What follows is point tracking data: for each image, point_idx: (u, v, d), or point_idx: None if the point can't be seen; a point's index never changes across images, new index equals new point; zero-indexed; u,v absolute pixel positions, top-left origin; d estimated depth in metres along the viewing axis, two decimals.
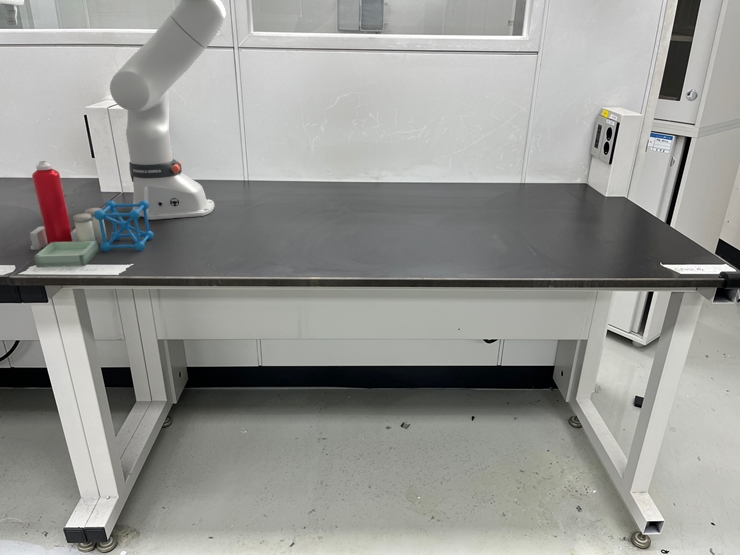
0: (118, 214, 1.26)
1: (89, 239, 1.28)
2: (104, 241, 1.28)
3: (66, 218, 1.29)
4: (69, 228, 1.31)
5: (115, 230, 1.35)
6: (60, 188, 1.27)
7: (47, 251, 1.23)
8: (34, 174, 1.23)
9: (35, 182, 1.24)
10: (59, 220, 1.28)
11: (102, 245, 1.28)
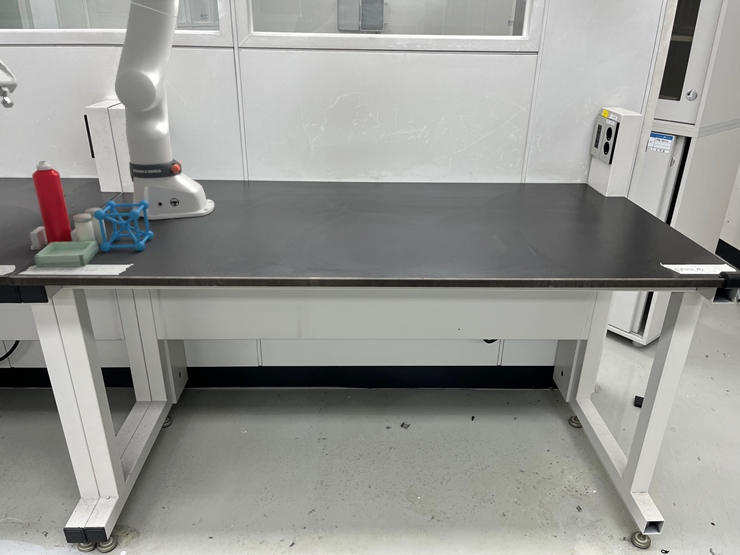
0: (118, 214, 1.26)
1: (89, 239, 1.28)
2: (104, 241, 1.28)
3: (66, 218, 1.29)
4: (69, 228, 1.31)
5: (115, 230, 1.35)
6: (60, 188, 1.27)
7: (47, 251, 1.23)
8: (34, 174, 1.23)
9: (35, 182, 1.24)
10: (59, 220, 1.28)
11: (102, 245, 1.28)
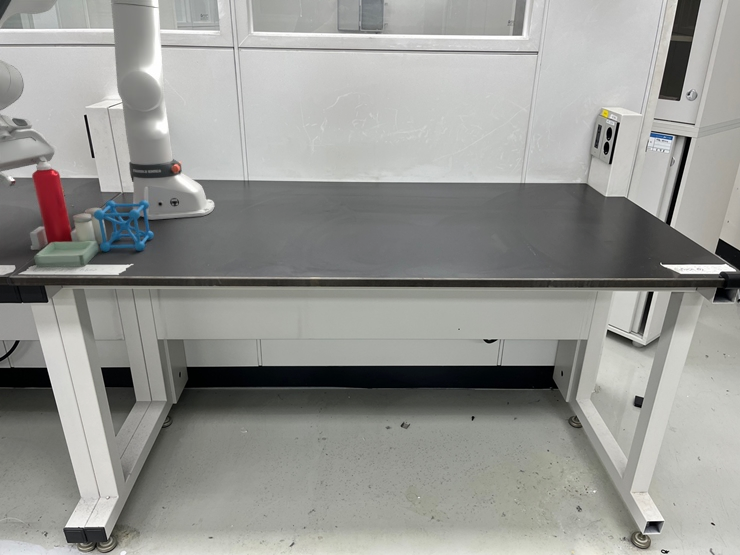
0: (118, 214, 1.26)
1: (89, 239, 1.28)
2: (104, 241, 1.28)
3: (66, 218, 1.29)
4: (69, 228, 1.31)
5: (115, 230, 1.35)
6: (60, 188, 1.27)
7: (47, 251, 1.23)
8: (34, 174, 1.23)
9: (35, 182, 1.24)
10: (59, 220, 1.28)
11: (102, 245, 1.28)
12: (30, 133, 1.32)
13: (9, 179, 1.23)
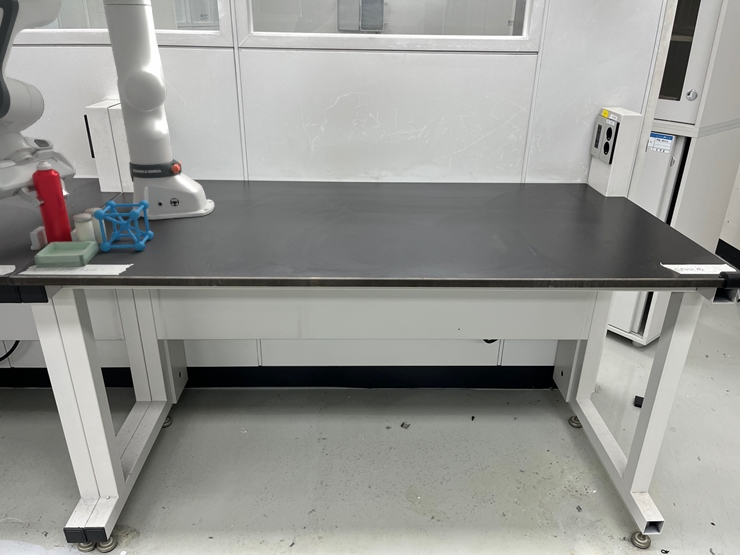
0: (118, 214, 1.26)
1: (89, 239, 1.28)
2: (104, 241, 1.28)
3: (66, 218, 1.29)
4: (69, 228, 1.31)
5: (115, 230, 1.35)
6: (60, 188, 1.27)
7: (47, 251, 1.23)
8: (34, 174, 1.23)
9: (35, 182, 1.24)
10: (59, 220, 1.28)
11: (102, 245, 1.28)
12: (51, 154, 1.32)
13: (38, 200, 1.24)
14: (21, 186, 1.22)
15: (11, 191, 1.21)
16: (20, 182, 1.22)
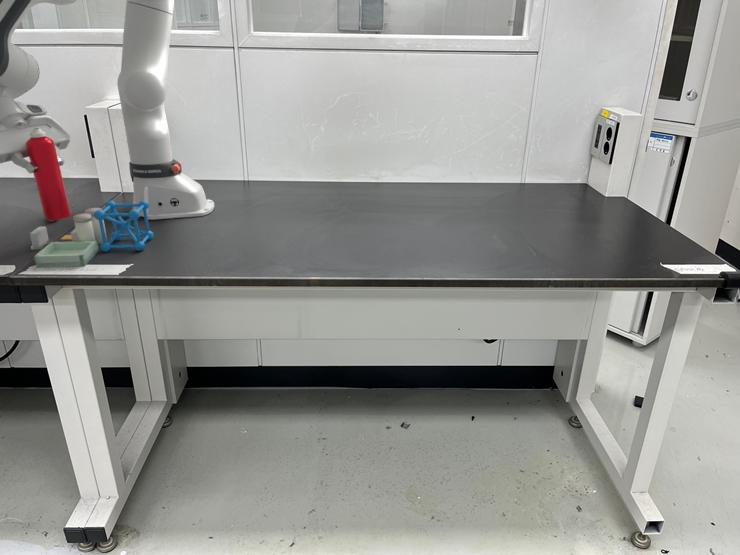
0: (118, 214, 1.26)
1: (89, 239, 1.28)
2: (104, 241, 1.28)
3: (62, 187, 1.26)
4: (65, 198, 1.28)
5: (115, 230, 1.35)
6: (55, 156, 1.24)
7: (47, 251, 1.23)
8: (28, 141, 1.21)
9: (29, 150, 1.21)
10: (54, 189, 1.25)
11: (102, 245, 1.28)
12: (45, 120, 1.29)
13: (32, 165, 1.21)
14: (14, 151, 1.19)
15: (4, 156, 1.18)
16: (12, 147, 1.19)
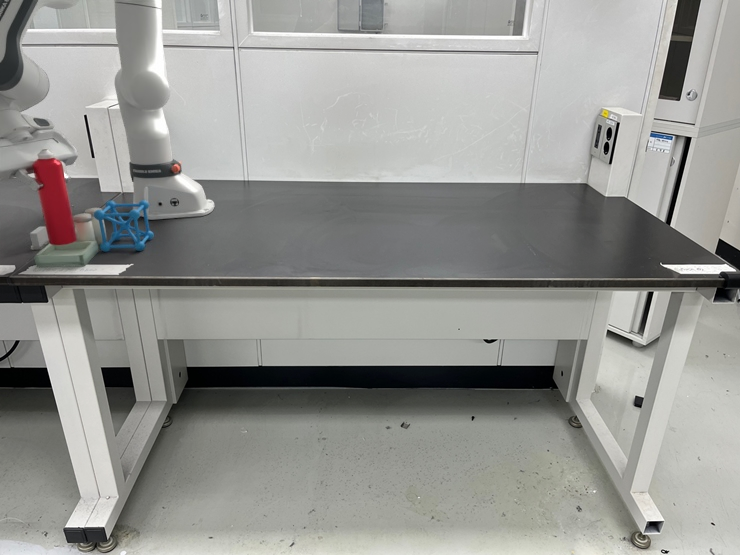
0: (118, 214, 1.26)
1: (89, 239, 1.28)
2: (104, 241, 1.28)
3: (68, 211, 1.20)
4: (71, 222, 1.21)
5: (115, 230, 1.35)
6: (62, 179, 1.17)
7: (47, 251, 1.23)
8: (35, 163, 1.14)
9: (35, 172, 1.14)
10: (61, 213, 1.18)
11: (102, 245, 1.28)
12: (52, 135, 1.22)
13: (37, 183, 1.14)
14: (19, 167, 1.12)
15: (8, 172, 1.11)
16: (17, 163, 1.12)
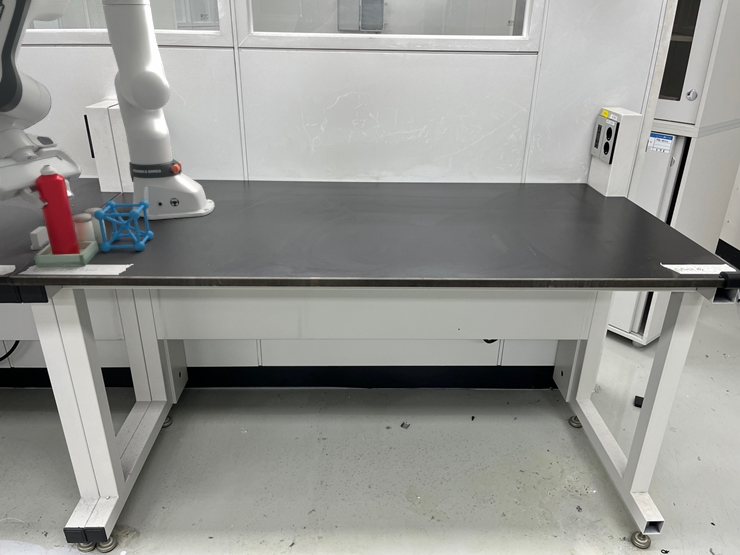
0: (118, 214, 1.26)
1: (89, 239, 1.28)
2: (104, 241, 1.28)
3: (71, 226, 1.21)
4: (74, 236, 1.22)
5: (115, 230, 1.35)
6: (65, 194, 1.18)
7: (47, 251, 1.23)
8: (37, 179, 1.15)
9: (38, 188, 1.16)
10: (64, 228, 1.19)
11: (102, 245, 1.28)
12: (56, 152, 1.23)
13: (41, 201, 1.15)
14: (23, 186, 1.14)
15: (12, 192, 1.12)
16: (22, 182, 1.13)
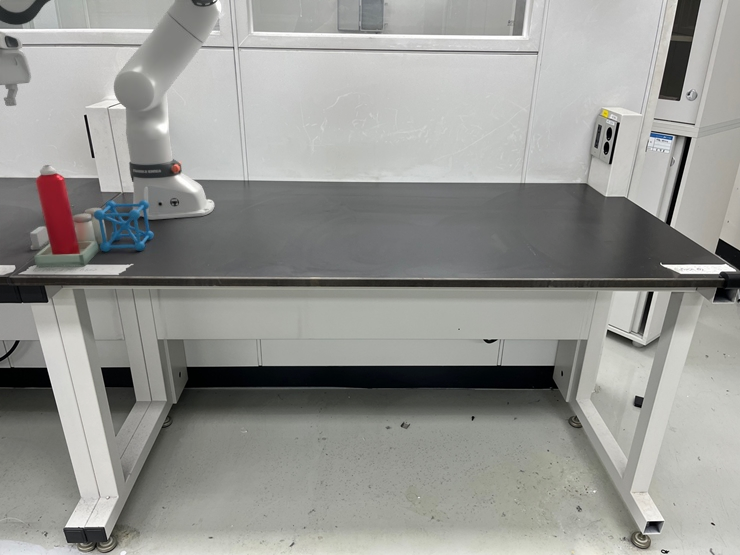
0: (118, 214, 1.26)
1: (89, 239, 1.28)
2: (104, 241, 1.28)
3: (71, 226, 1.21)
4: (74, 236, 1.22)
5: (115, 230, 1.35)
6: (65, 194, 1.18)
7: (47, 251, 1.23)
8: (37, 179, 1.15)
9: (38, 188, 1.16)
10: (64, 228, 1.19)
11: (102, 245, 1.28)
12: (15, 55, 1.23)
13: None
14: None
15: None
16: None
